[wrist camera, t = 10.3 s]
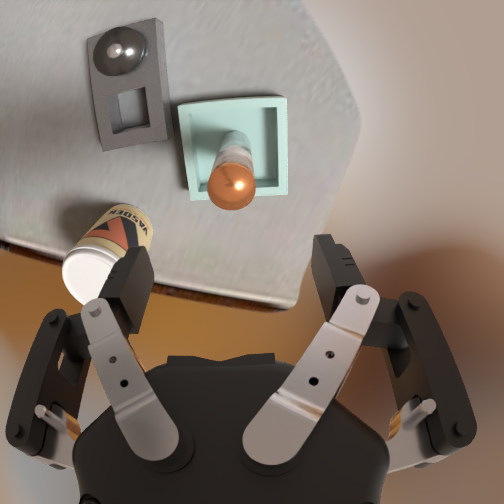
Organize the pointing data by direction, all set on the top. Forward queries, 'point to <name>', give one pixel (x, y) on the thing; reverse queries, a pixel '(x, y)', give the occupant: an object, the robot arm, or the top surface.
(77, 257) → the coffee cup
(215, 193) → the pin
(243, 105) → the tray
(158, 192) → the top surface
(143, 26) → the block
